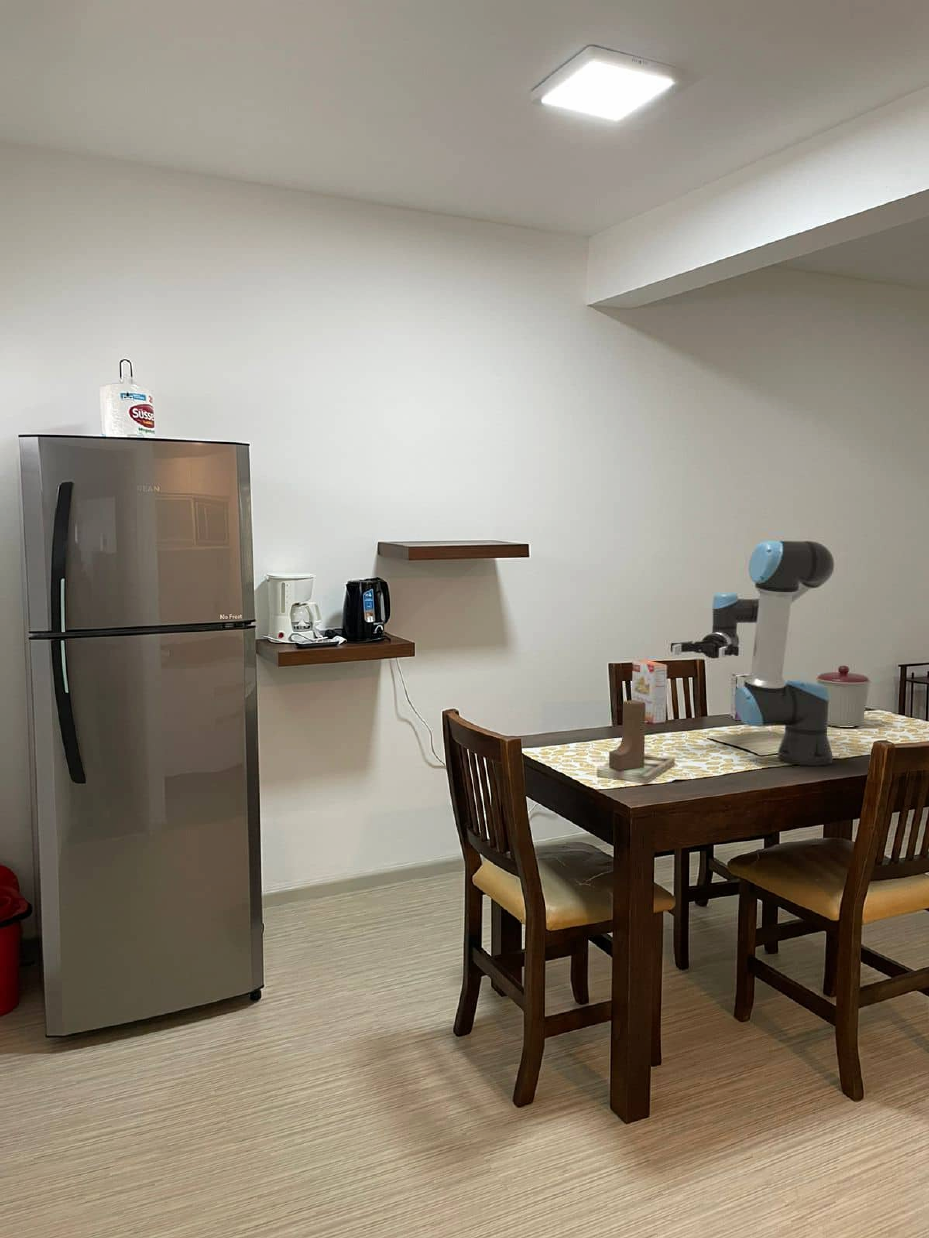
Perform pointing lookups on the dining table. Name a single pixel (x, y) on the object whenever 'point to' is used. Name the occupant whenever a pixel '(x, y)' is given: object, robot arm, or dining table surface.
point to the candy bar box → (736, 682)
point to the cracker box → (650, 689)
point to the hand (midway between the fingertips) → (696, 651)
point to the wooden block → (630, 738)
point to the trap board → (639, 770)
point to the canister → (845, 696)
